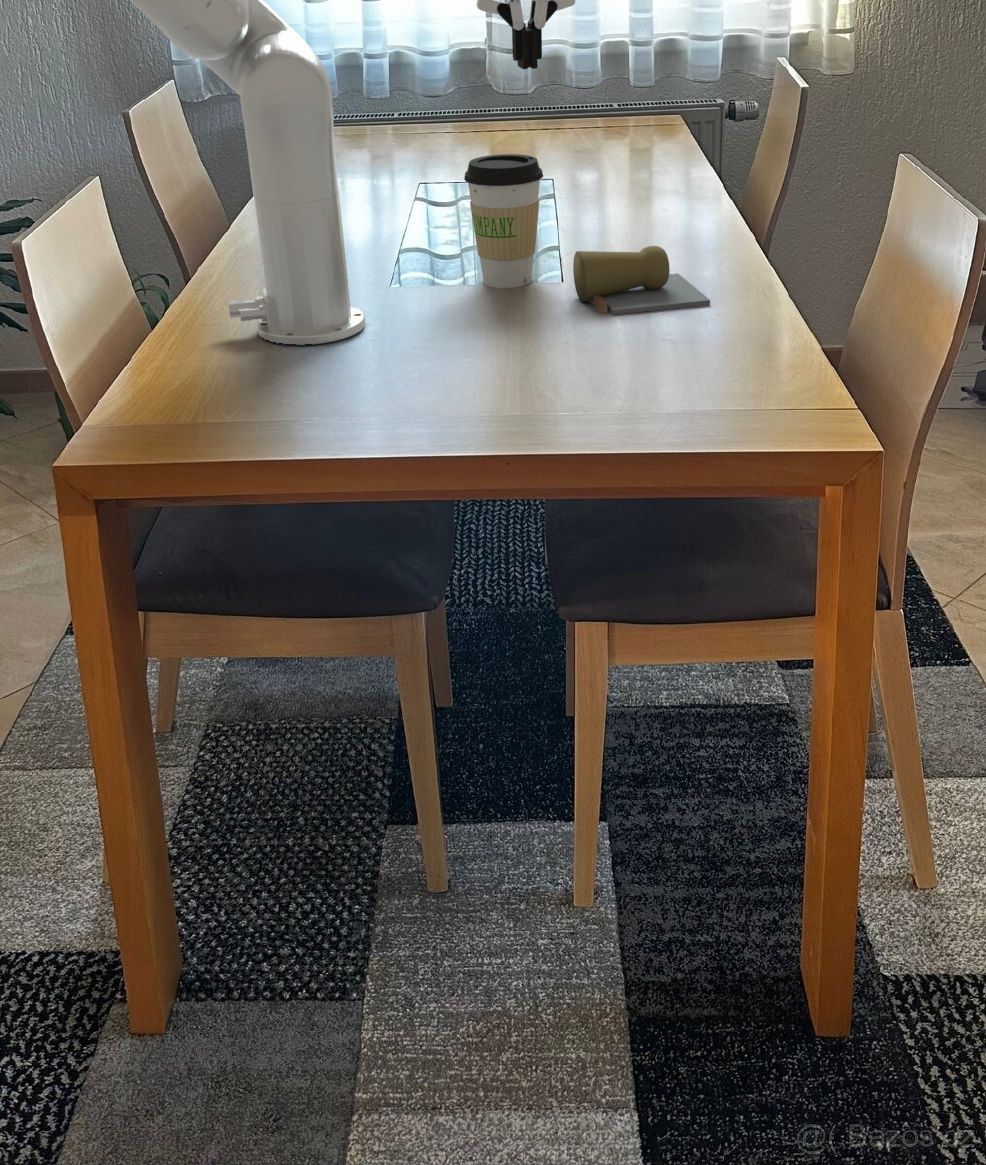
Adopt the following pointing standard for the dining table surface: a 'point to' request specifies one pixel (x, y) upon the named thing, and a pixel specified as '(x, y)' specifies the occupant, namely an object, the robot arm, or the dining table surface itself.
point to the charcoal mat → (656, 297)
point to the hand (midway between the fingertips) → (527, 66)
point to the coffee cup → (505, 216)
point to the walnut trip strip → (599, 303)
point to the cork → (619, 271)
